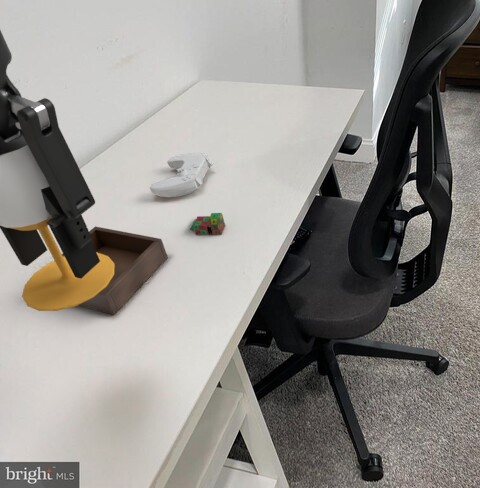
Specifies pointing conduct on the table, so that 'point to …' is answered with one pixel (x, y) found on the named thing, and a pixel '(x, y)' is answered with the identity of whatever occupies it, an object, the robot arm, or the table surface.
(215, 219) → the block
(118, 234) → the holder
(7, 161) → the cup
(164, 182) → the game controller
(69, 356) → the table surface
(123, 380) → the table surface
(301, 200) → the table surface
